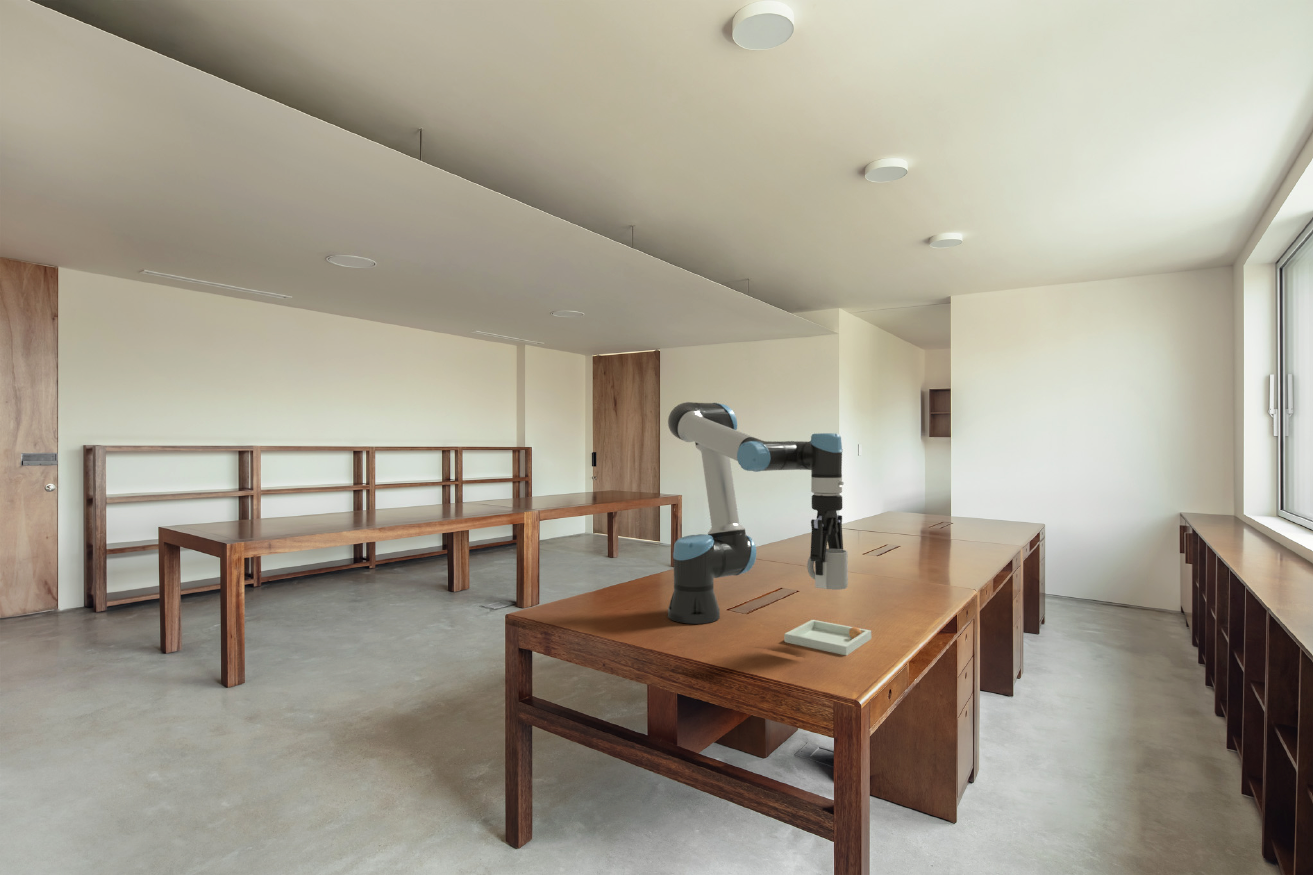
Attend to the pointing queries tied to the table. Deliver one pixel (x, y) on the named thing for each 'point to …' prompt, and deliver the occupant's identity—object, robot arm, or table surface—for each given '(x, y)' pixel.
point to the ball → (854, 632)
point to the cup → (834, 568)
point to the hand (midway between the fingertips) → (827, 584)
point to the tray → (827, 637)
